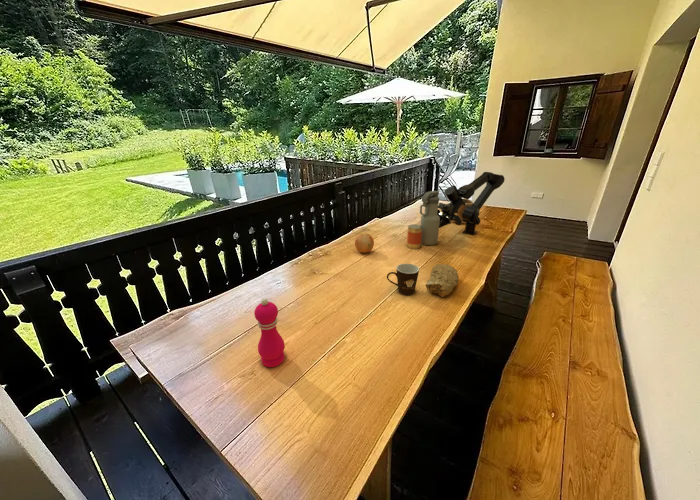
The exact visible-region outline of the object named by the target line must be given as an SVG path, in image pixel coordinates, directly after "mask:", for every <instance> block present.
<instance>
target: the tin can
mask: <svg viewBox="0 0 700 500" xmlns="http://www.w3.org/2000/svg"><path fill="white" fill-rule="evenodd" d="M406 236H407V237H406V247H407V248H409V249H414V250H415V249H420V248H421V246H422V244H421V238H422V226H421V224H415V223H412V224H408V225H407V235H406Z"/></svg>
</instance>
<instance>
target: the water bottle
mask: <svg viewBox="0 0 700 500" xmlns="http://www.w3.org/2000/svg"><path fill="white" fill-rule="evenodd" d="M439 194H440V191H438V190H431V191H430V190H429V191H426V192H424V194H423V195H422V197H421V202H422V204H421V205H420V206H419V214H420V215H421V217H420V225H421V226H422V238H421V245H424V246H435V245H436V244H438V241H439V231H440V228H439V223H440V217H439V216H438V215H437V211H438V209H439V208H438V205H439V203H440V197H439ZM423 208H424V213H423Z"/></svg>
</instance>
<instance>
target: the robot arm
mask: <svg viewBox="0 0 700 500" xmlns="http://www.w3.org/2000/svg"><path fill="white" fill-rule="evenodd" d="M504 182H505V176H504V175H503V174H498V173H493V172H491V171H483V172H482V174H480V176H478V177H477V178H475V179H474V180H472V181H471V182H470V183H468V184H464V185H462V186H460V187H458V188H457V186H456V185H455V184H452V185H451V186H448V187H447V188H445V189H444V195H445V197H446V199H447V200H448V201H449V203H447V204H446V203H443V202H439V204H438V211H437V215H438V216H439V217H440V223H439V229H441V228H443V227H445V226H448V225H451V224H452V222H453V221H456V222H454V223H455V226H461V225H462V224H463V223H462V220H463V222H466V223H465V225H464V230H463V231H462V234H466V235H473V236H475V234H477V230H476V227H477V225H478V226H479V225H480V224H481V219H480V217H479V216H480V210H481V209H482V208H483V206H484V204H485V203H486V202H487V201H488V199H489V198H490V196H491V195H492V193H493V192H494V191H495V190H497V189H499V188H500V187H501V186H502V185H503V184H504ZM485 184H486V185H485ZM483 185H485V187H484V188H483V189H482V190H481V192H480V193H479V195H478V196H477V198H476V199H475V200H474V201H473V205H472V206H466V208H465V209H464V210H463V213H462V220H461V219H460V217H459V216H457V215H455V214H457V213H458V209H459V208H460V207H461V205H464V206H465V200H463V199H469V200H470V199H471V198H472V197H473V196H474V195H475V192H476V191H477V190H478V189H479V188H480V187H482V186H483Z"/></svg>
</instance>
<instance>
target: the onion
mask: <svg viewBox="0 0 700 500" xmlns="http://www.w3.org/2000/svg"><path fill="white" fill-rule="evenodd" d="M374 246H375V241H374V237H373V236H372V235H371V234H369V233H367V232H364V233H360V234H358V235H357V236H356V237H355V240H354V247H355V249H356V251H358V252H359V253H361V254H365V253H369V252H371V251H372V250H373V248H374Z"/></svg>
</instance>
